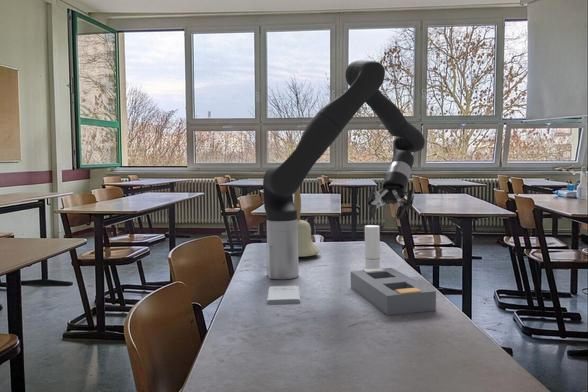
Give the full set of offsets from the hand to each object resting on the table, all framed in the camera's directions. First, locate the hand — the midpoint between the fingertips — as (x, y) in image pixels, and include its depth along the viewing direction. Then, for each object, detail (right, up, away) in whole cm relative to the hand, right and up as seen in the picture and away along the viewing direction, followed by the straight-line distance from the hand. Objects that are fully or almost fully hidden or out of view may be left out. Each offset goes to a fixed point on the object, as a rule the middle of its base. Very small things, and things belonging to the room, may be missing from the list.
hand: (384, 217), depth 149 cm
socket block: (-4, -19, -28) cm, 34 cm away
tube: (-5, -17, -7) cm, 19 cm away
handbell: (-26, -15, +24) cm, 39 cm away
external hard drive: (-31, -20, -24) cm, 44 cm away
